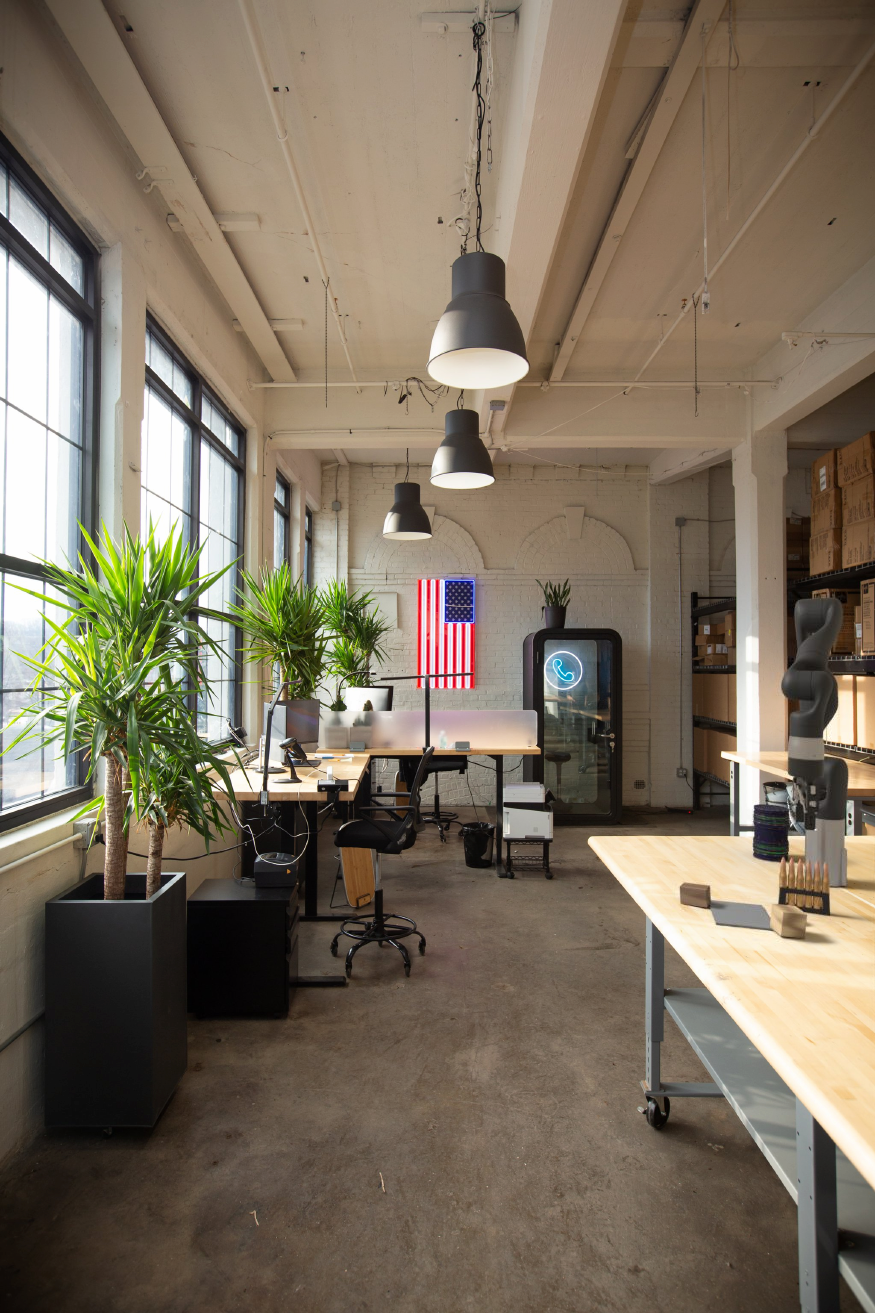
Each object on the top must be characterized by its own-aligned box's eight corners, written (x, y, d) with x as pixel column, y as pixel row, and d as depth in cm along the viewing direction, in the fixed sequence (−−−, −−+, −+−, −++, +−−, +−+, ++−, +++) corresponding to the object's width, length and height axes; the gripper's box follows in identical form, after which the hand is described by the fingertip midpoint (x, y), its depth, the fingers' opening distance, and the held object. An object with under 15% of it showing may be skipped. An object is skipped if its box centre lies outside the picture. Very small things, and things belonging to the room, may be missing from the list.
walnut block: (685, 899, 171) (684, 882, 171) (710, 902, 167) (710, 885, 168) (680, 903, 167) (679, 886, 168) (706, 907, 164) (705, 890, 164)
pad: (761, 906, 167) (761, 905, 167) (775, 931, 151) (776, 929, 151) (707, 901, 170) (707, 899, 170) (716, 924, 154) (716, 922, 154)
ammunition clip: (829, 913, 163) (830, 861, 163) (830, 916, 161) (831, 863, 161) (778, 906, 167) (778, 855, 167) (778, 908, 165) (779, 857, 166)
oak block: (792, 929, 152) (795, 906, 152) (804, 938, 147) (807, 914, 147) (769, 926, 152) (772, 903, 152) (780, 936, 147) (783, 912, 147)
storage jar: (745, 855, 214) (745, 805, 214) (768, 852, 218) (768, 803, 218) (773, 863, 204) (773, 811, 205) (796, 860, 209) (797, 809, 209)
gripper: (832, 761, 157) (831, 834, 157) (815, 753, 171) (814, 820, 170) (795, 759, 159) (794, 831, 159) (781, 752, 173) (780, 818, 172)
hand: (804, 825), depth 165 cm, fingers open, 8 cm apart
